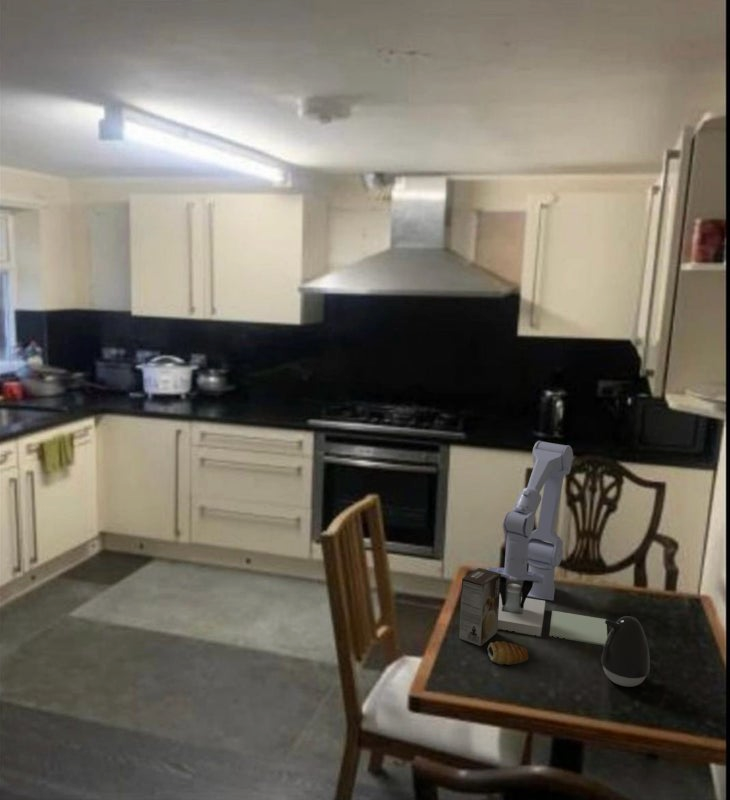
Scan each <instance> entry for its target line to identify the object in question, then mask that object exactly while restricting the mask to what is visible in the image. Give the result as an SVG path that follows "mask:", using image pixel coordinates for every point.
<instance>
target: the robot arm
mask: <svg viewBox="0 0 730 800" xmlns="http://www.w3.org/2000/svg"><path fill="white" fill-rule="evenodd" d="M531 455H532V464H533V469H532V470H531V471H532V472H531V474H530V477H529V481H528V483H527V486H526V487H524V488H522V489H521V490H520V492H519V494H518V497H517V499H516V502H515V504H514V505H513V508H512V510H511V511H508V512H507V513H506V515H505V517H504V522H503V526H502V527H503V530H504V539H505V540H506V541H505V555H504V567H492V566H491V567H490V566H489V567H487V568H486V570H489V571H493V572H496V573H500V574H501V579H500V595H501V599H502V605H505V601H506V585H507V581H508V580H507V579H509V581H513V582H517V581H521V582H522V585H521V586H522V594H521V597H522V600H521V607H520V608H523V607H524V602H525V600H526V598H532V599H538V600H544V601H554V599H555V597H554V596H555V592H556V591H555V590H556V589H555V588H556V587H555V585H554V584H555V583H554V581H555V571H556V570H555V569H556V568H557V567H558V566H559V565H561V562H562V559H563V553H564V550H563V547H564V546H563V545H564V541H563V539H562V538H561V537H560V536H559V534H557V533H556V524H557V519H558V512H559V508H560V501H561V494H562V488H563V483H564V477H565V476H568V475H570V473H571V470H572V465H573V459H574V452H573V448H572V447H571V445H569V444H568V445H565V444H559V443H553V442H547V441H542V440H537V441H536V442H535V444H534V446H533V448H532V454H531ZM542 489H543V492H542V495H541V491H542ZM539 506H540V511H539V514H538V515H539V516H538V521H537V528H536V529H534V527H535V522H536V513H537V510H538V508H539ZM527 569H528V570H527Z"/></svg>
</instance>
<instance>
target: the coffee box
mask: <svg viewBox="0 0 730 800" xmlns="http://www.w3.org/2000/svg"><path fill="white" fill-rule="evenodd" d="M500 579H501V574H500V573H496V572H493V571H489V570H487V569H485V568H481V567H478V568H476V569H475V570H473V571H471V572H470V573H468V574H467V575H465V576H464V577H463V578H462V579H461V594H460V595H461V596H460V598H461V599H460V615H459V633H458V634H459V635H458V636H459V637H458V639H460V640H462V641H466V642H468V643H471V644H474V645H475V646H476V645H477V646H479V647H482V646H483V645H484V644H486V642H488V641H489V640H491V638H493V637H494V636H495V635H496V634H497V633H498V629H497V627H498V612H499V595H500Z"/></svg>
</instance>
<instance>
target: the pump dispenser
mask: <svg viewBox="0 0 730 800" xmlns="http://www.w3.org/2000/svg"><path fill="white" fill-rule="evenodd" d="M605 624H607V626H608V627H611V629H610V631H609V633H608V634H607V639H606V642H605V645H604V646H603V649H602V652H601V653H602V654H601V657H600V659H601V661H600V662H601V665H602V669H603V671H604V673H605V676H606V677H607V678H608V679H609V680H610V681H611V682H613V683H614V684H617V685H618V686H621V687H626V688H631V687H636V686H638V685H641V684H642V683H643V682H644V681H645V679H646V677H647V676H648V675H649V673H650V664H651V662H650V660H651V659H650V650H649V644H648V640H647V639H648V638H647V636H646V633H645V630H644V628H643V626H642V625H641V622H640V621H639V620H638V619H637V618H636V617H633V616H628V615H625V616H622V617H620V618H619V619H617V620H616V621H612V620H611V619H606V621H605Z"/></svg>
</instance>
